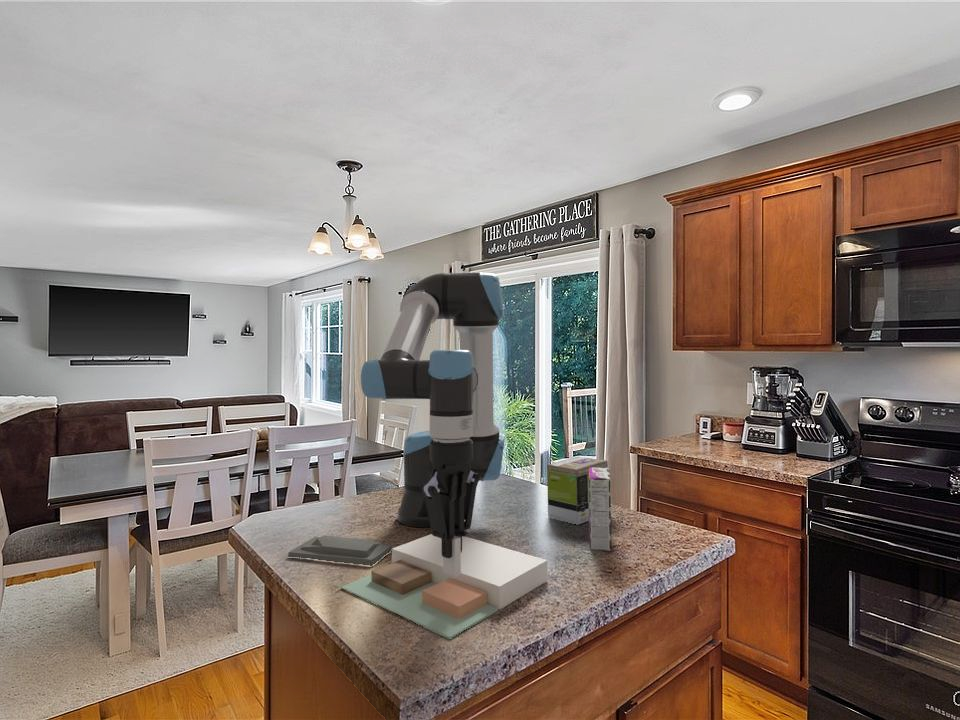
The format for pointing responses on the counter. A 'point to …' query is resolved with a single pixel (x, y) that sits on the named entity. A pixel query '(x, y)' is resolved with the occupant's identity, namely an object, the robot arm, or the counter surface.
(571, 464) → the tea box
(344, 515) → the counter surface
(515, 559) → the white flat block
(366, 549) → the soap mold
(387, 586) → the walnut tile
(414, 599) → the mat
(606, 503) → the candy bar box
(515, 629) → the counter surface
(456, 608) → the terracotta tile
